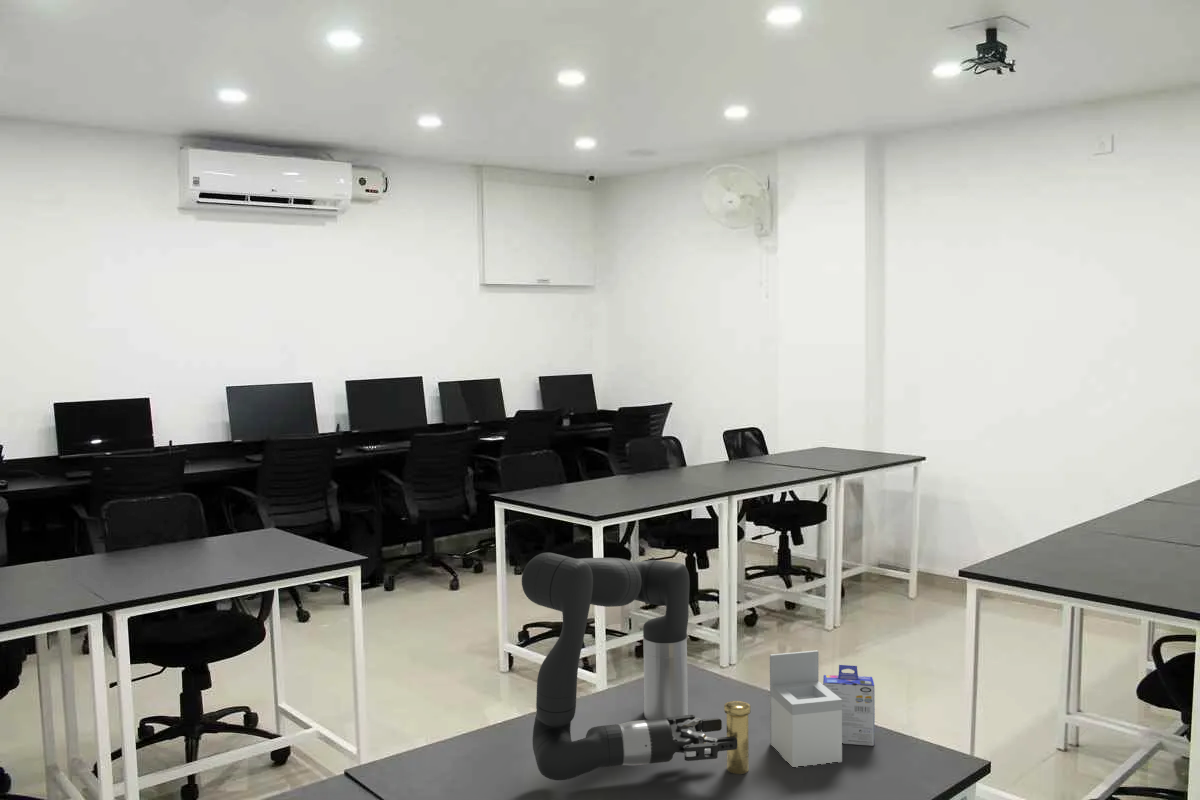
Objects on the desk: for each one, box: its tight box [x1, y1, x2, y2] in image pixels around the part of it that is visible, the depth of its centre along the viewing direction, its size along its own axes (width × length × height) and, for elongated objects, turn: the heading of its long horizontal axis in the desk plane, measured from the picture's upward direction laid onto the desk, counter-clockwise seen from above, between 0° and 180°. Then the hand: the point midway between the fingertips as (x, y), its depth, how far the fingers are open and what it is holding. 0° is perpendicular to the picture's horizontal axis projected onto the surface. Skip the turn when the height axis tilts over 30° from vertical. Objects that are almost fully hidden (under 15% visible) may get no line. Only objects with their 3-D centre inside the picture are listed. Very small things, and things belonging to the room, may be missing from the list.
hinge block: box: [769, 649, 843, 768], centre depth 178 cm, size 11×10×18 cm
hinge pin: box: [723, 700, 751, 775], centre depth 172 cm, size 5×5×12 cm
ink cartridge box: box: [822, 664, 876, 747], centre depth 184 cm, size 10×6×14 cm, turn 78°
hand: (728, 732), depth 172 cm, fingers open, 8 cm apart
